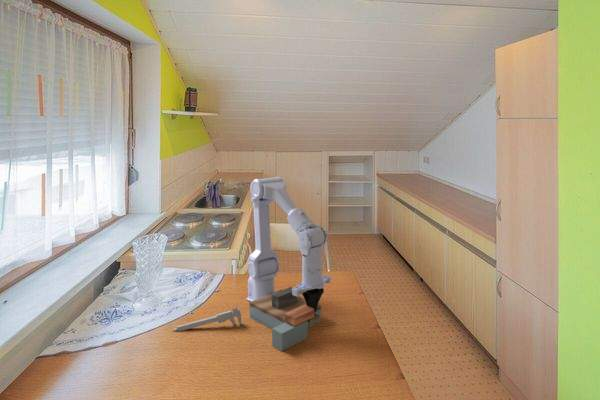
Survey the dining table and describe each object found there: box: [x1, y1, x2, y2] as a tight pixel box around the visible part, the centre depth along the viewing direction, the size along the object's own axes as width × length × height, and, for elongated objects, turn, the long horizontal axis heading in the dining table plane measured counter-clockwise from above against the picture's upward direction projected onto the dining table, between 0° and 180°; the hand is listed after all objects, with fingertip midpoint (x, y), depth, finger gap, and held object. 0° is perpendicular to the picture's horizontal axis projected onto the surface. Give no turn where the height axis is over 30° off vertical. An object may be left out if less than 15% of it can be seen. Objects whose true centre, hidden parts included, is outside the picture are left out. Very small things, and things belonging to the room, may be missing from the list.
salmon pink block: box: [285, 305, 314, 326], centre depth 114 cm, size 4×8×2 cm, turn 135°
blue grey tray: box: [249, 305, 322, 352], centre depth 122 cm, size 22×20×5 cm
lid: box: [249, 286, 322, 323], centre depth 124 cm, size 22×14×6 cm, turn 45°
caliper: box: [172, 305, 242, 332], centre depth 121 cm, size 20×1×6 cm, turn 100°
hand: (312, 311), depth 118 cm, fingers closed
